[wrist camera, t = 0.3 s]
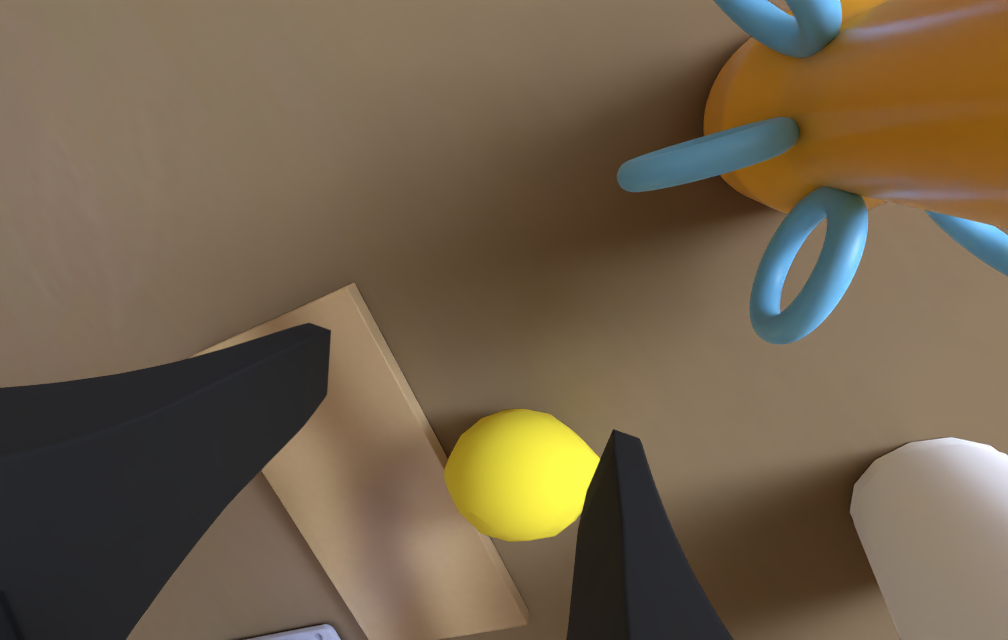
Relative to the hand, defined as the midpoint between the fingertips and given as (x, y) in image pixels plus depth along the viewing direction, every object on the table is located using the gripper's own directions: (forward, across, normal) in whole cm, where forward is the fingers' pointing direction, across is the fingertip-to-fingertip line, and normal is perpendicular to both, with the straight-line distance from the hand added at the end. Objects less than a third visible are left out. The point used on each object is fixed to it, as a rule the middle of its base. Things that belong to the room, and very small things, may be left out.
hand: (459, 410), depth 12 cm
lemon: (+10, -2, +8) cm, 13 cm away
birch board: (+8, +6, +14) cm, 17 cm away
